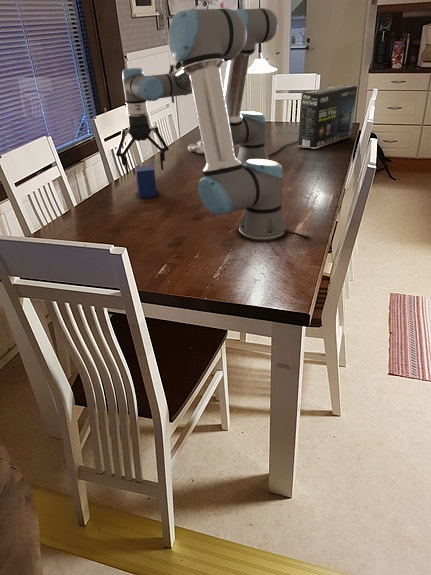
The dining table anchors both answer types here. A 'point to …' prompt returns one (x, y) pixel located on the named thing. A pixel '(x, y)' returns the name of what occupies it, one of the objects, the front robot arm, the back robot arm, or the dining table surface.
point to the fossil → (196, 147)
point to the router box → (326, 115)
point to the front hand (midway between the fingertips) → (144, 171)
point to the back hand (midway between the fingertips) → (186, 101)
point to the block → (145, 181)
